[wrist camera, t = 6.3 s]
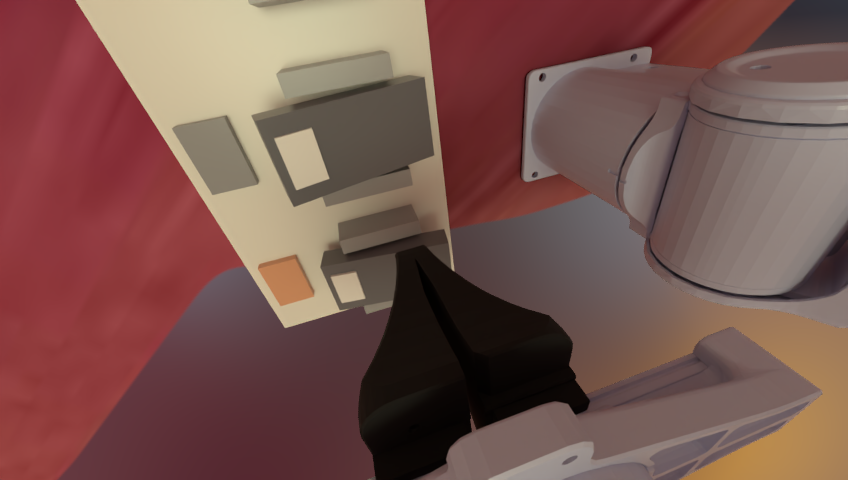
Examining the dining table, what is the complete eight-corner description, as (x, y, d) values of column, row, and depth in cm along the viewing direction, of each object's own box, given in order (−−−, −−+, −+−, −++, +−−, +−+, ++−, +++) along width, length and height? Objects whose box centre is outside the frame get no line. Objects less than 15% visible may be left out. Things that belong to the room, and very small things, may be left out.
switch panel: (377, -270, 12) (401, -407, 8) (445, 259, 28) (464, 295, 24) (-40, -250, 10) (-253, -415, 6) (288, 305, 26) (282, 351, 22)
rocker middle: (408, 75, 16) (426, 77, 15) (420, 148, 19) (435, 156, 17) (251, 115, 13) (255, 121, 12) (287, 195, 16) (294, 208, 15)
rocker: (444, 228, 20) (449, 244, 19) (449, 273, 23) (454, 290, 21) (323, 251, 20) (319, 268, 19) (341, 293, 22) (339, 312, 21)
